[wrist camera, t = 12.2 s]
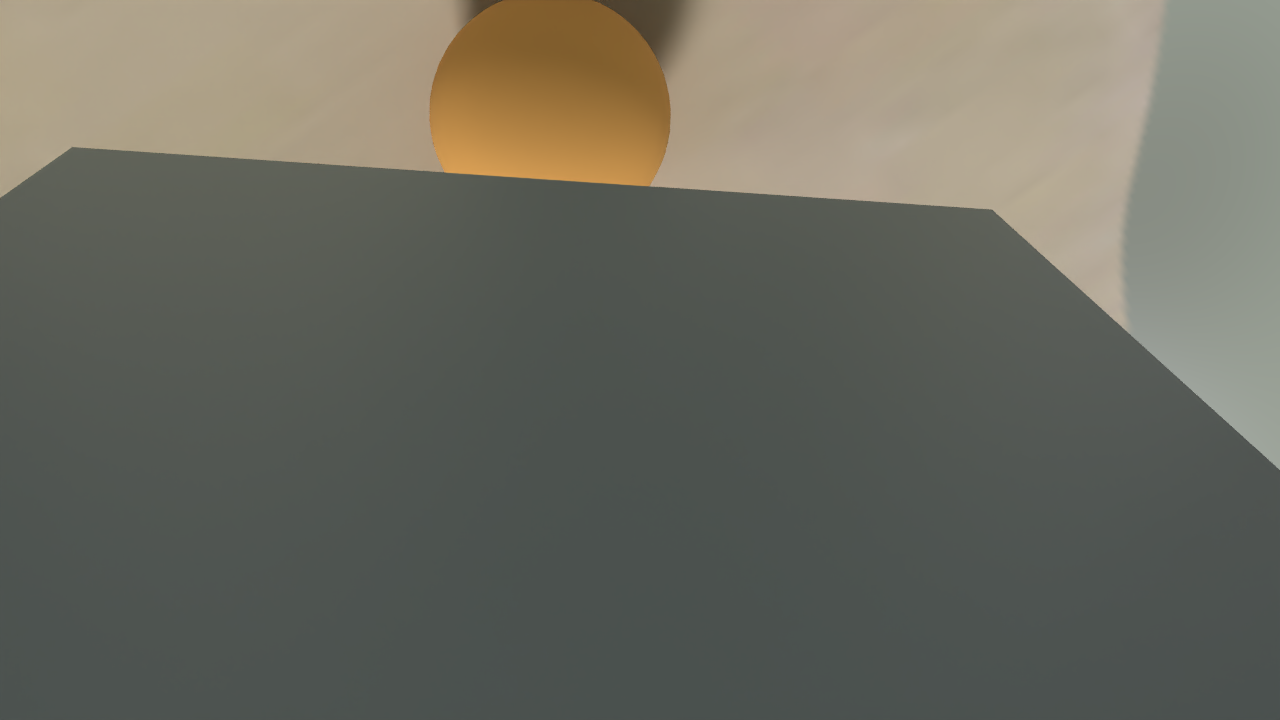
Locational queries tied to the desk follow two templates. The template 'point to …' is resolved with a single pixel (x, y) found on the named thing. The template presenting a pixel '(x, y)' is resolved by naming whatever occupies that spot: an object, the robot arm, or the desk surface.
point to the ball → (551, 96)
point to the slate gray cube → (594, 461)
